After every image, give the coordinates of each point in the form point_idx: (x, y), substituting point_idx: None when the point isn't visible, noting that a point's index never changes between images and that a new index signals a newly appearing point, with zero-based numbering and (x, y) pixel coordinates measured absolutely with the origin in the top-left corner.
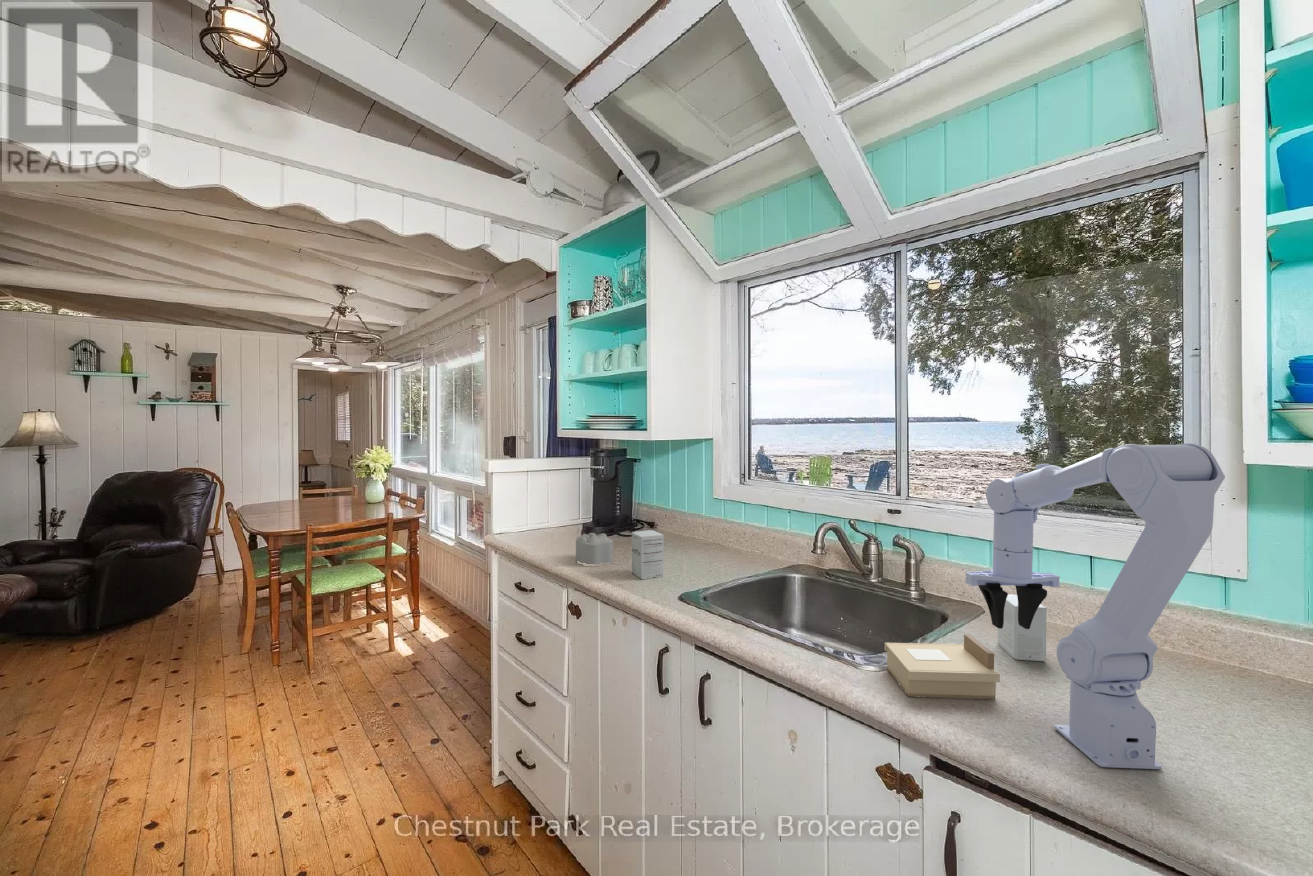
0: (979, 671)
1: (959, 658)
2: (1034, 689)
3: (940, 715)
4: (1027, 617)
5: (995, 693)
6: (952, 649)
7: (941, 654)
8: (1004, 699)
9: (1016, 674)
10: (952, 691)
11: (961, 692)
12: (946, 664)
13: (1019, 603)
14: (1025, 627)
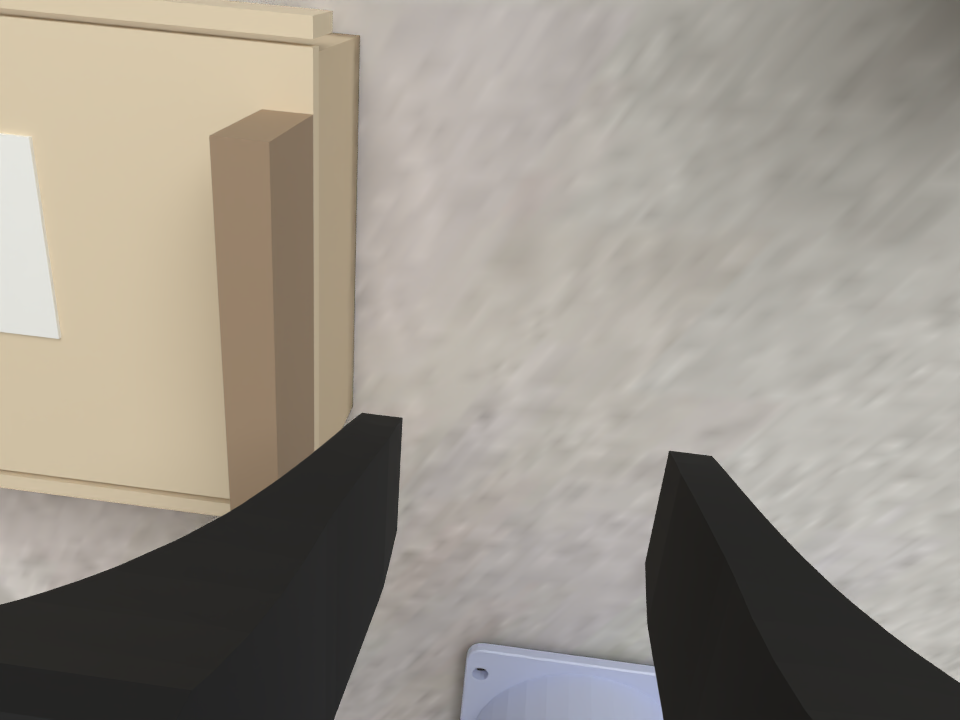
0: (196, 489)
1: (139, 301)
2: (680, 312)
3: (8, 508)
4: (663, 681)
5: (342, 425)
6: (146, 131)
7: (16, 233)
8: (407, 404)
9: (730, 97)
10: None
11: None
12: (8, 385)
13: (729, 623)
14: (648, 568)
